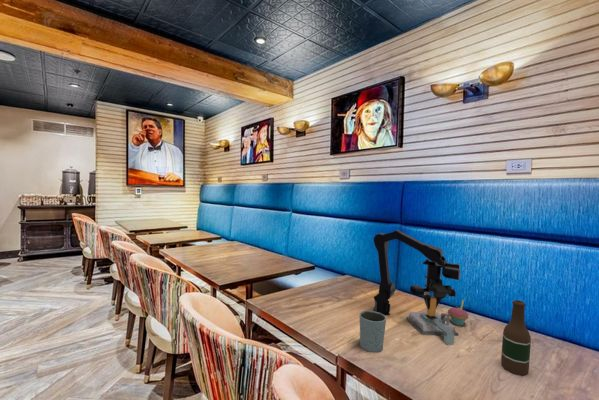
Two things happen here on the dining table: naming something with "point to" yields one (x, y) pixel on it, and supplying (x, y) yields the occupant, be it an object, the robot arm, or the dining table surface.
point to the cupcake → (458, 315)
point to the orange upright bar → (432, 307)
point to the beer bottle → (516, 342)
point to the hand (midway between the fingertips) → (431, 309)
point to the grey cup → (372, 331)
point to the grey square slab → (433, 325)
